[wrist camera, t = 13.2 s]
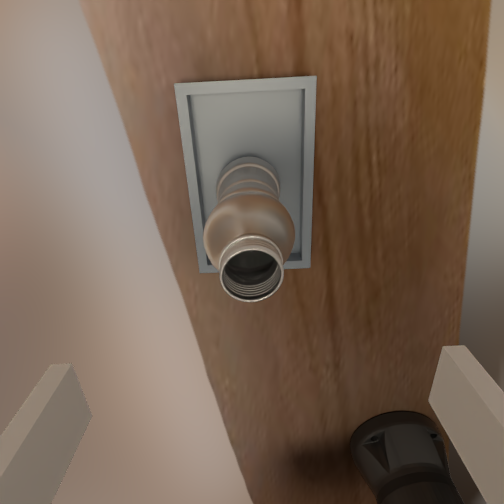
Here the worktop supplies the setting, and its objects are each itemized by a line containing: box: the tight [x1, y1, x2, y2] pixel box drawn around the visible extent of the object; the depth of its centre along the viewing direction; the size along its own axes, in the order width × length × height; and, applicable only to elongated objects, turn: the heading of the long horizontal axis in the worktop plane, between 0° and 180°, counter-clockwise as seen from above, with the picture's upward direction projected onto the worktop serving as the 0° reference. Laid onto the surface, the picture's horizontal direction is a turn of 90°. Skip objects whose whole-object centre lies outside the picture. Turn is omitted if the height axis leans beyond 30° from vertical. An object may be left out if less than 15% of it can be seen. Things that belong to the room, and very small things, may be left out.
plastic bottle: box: [203, 156, 295, 302], centre depth 28 cm, size 6×7×20 cm
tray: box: [174, 76, 317, 273], centre depth 36 cm, size 20×13×3 cm, turn 3°
